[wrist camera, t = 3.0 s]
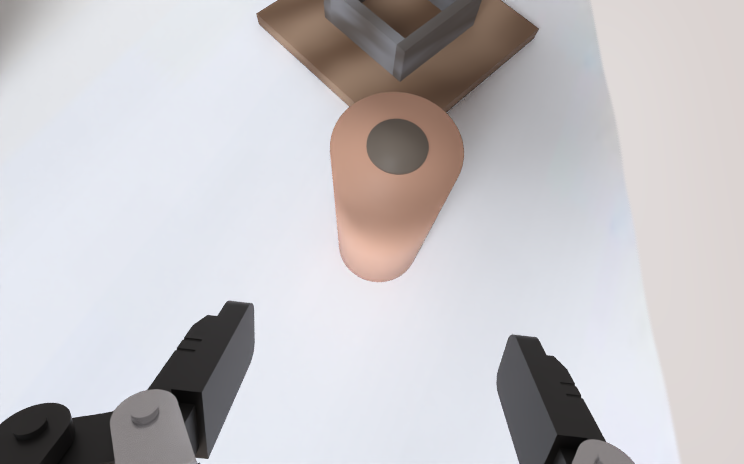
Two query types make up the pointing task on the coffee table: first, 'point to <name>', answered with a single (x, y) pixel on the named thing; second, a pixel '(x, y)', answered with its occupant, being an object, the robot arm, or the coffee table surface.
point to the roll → (391, 179)
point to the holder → (399, 44)
